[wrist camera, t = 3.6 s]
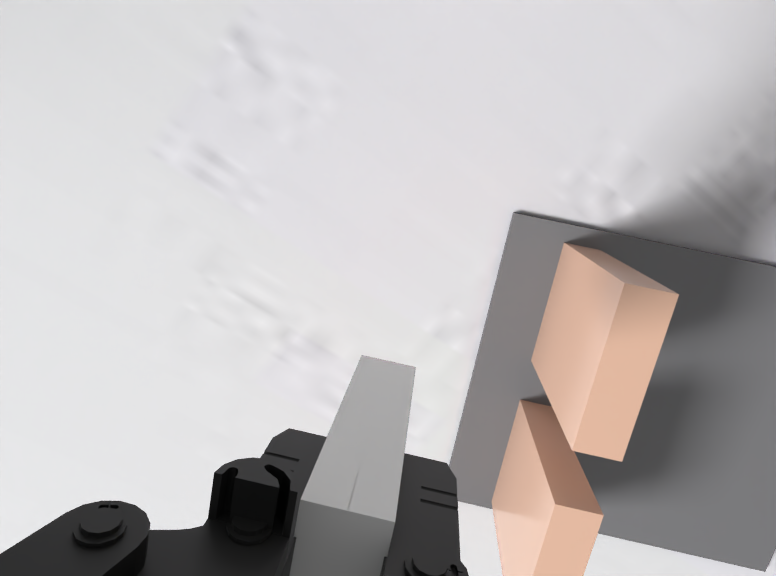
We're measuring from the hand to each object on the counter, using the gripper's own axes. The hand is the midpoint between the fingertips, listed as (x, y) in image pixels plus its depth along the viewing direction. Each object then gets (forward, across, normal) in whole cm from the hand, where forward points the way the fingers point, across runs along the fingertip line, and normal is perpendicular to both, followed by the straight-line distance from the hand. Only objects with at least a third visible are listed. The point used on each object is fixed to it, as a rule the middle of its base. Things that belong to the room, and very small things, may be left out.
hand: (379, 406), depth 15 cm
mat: (+17, +15, -4) cm, 23 cm away
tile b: (+17, +9, -9) cm, 21 cm away
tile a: (+17, +9, 0) cm, 19 cm away
